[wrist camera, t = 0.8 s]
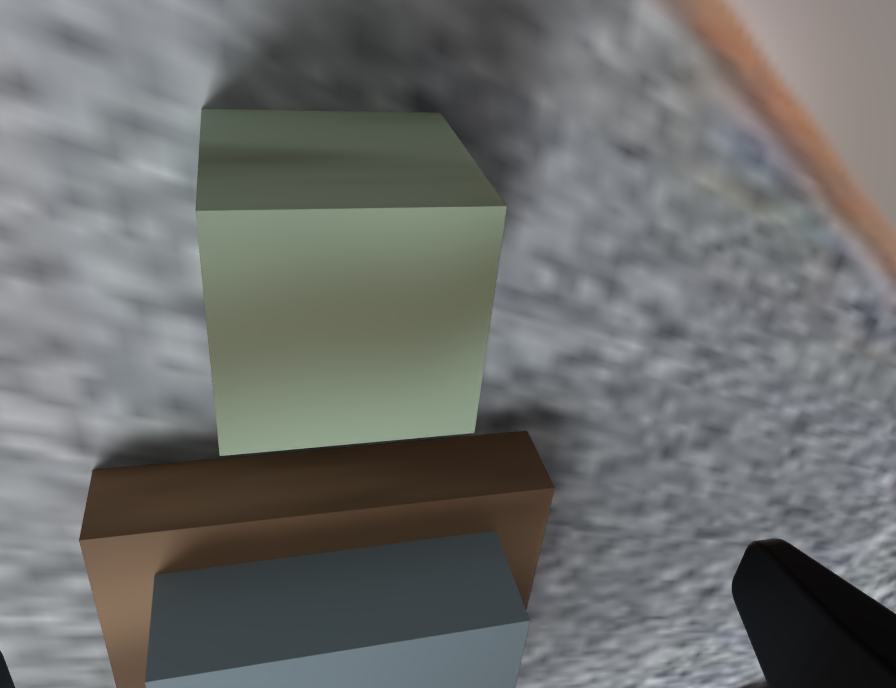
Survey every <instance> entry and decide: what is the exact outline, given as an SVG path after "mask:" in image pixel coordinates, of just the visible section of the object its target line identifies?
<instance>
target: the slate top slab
mask: <svg viewBox="0 0 896 688" xmlns="http://www.w3.org/2000/svg"><path fill="white" fill-rule="evenodd" d="M529 623H530V619H529V617H528V614H527V612H526V609H525V606H524V604H523V601H522V598H521V596H520V593H519V590H518V588H517V585H516V582H515V580H514V577H513V575H512V572H511V569H510V567H509V564H508V561H507V559H506V556H505V553H504V551H503V548H502V545H501V543H500V540H499V537H498V535H497V532H496V530H495V531H488V532H480V533H472V534H465V535H457V536H449V537H442V538H434V539H426V540H419V541H411V542H403V543H396V544H388V545H380V546H373V547H365V548H357V549H349V550H342V551H334V552H326V553H319V554H311V555H303V556H296V557H288V558H280V559H273V560H265V561H257V562H250V563H242V564H234V565H227V566H219V567H211V568H204V569H196V570H188V571H181V572H173V573H165V574H158V575H154V586H153V597H152V609H151V620H150V631H149V642H148V654H147V665H146V676H145V685H146V688H515V686H516V682H517V677H518V673H519V668H520V664H521V659H522V655H523V650H524V646H525V641H526V636H527V632H528V627H529Z"/></svg>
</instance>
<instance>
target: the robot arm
mask: <svg viewBox="0 0 896 688" xmlns="http://www.w3.org/2000/svg"><path fill="white" fill-rule="evenodd" d="M732 594H733V598H734V601H735V604H736V606H737V609H738V611H739V614H740V616H741V619H742V621H743V624H744V626H745V629H746V631H747V634H748V636H749V639H750V641H751V644H752V646H753V649H754V651H755V654H756V656H757V659H758V661H759V664H760V666H761V669H762V671H763V674H764V676H765V679H766V681H767V684H768V686H769V688H896V614H895V613H894V612H892V611H891V610H889V609H888V608H886V607H885V606H883V605H882V604H880V603H879V602H877V601H876V600H874V599H872V598H871V597H869V596H868V595H866V594H865V593H863V592H862V591H860V590H859V589H857V588H856V587H854V586H853V585H851V584H850V583H848V582H847V581H845V580H844V579H842V578H841V577H839V576H838V575H836V574H835V573H833V572H832V571H830V570H829V569H827V568H826V567H824V566H823V565H821V564H820V563H818V562H817V561H815V560H814V559H812V558H811V557H809V556H808V555H806V554H805V553H803V552H802V551H800V550H799V549H797V548H796V547H794V546H793V545H791V544H790V543H788V542H786V541H784V540H782V539H767V540H759V541H754V542H752V543H751V544H749V545H748V547H747V549H746V551H745V553H744V555H743V558H742V560H741V562H740V564H739V566H738V569H737V571H736V573H735V575H734V578H733V581H732ZM0 688H15V686H14V683H13V681H12V678H11V675H10V673H9V670H8V667H7V665H6V662H5V660H4V657H3V654H2V653H1V651H0Z"/></svg>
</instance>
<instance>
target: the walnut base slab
mask: <svg viewBox="0 0 896 688" xmlns="http://www.w3.org/2000/svg"><path fill="white" fill-rule="evenodd" d="M553 493H554V486H553V484H552V482H551V479H550V477H549V475H548V473H547V471H546V469H545V467H544V465H543V463H542V461H541V459H540V457H539V455H538V453H537V451H536V449H535V447H534V444H533V442H532V440H531V438H530V436H529V434H528V432H527V431H520V432H509V433H498V434H487V435H476V436H465V437H454V438H443V439H432V440H420V441H409V442H398V443H387V444H376V445H365V446H354V447H343V448H332V449H321V450H310V451H298V452H287V453H276V454H265V455H254V456H243V457H232V458H221V459H210V460H199V461H188V462H176V463H165V464H154V465H143V466H132V467H121V468H110V469H99V470H93V471H92V476H91V482H90V487H89V492H88V497H87V502H86V508H85V513H84V518H83V523H82V528H81V534H80V539H79V542H80V546H81V550H82V554H83V557H84V561H85V565H86V569H87V573H88V577H89V581H90V585H91V589H92V593H93V597H94V601H95V604H96V608H97V612H98V616H99V620H100V624H101V628H102V632H103V636H104V640H105V644H106V648H107V651H108V655H109V659H110V663H111V667H112V671H113V675H114V679H115V683H116V687H117V688H146V685H145V676H146V665H147V654H148V642H149V631H150V620H151V609H152V597H153V586H154V575H158V574H165V573H173V572H181V571H188V570H196V569H204V568H211V567H219V566H227V565H234V564H242V563H250V562H257V561H265V560H273V559H280V558H288V557H296V556H303V555H311V554H319V553H326V552H334V551H342V550H349V549H357V548H365V547H373V546H380V545H388V544H396V543H403V542H411V541H419V540H426V539H434V538H442V537H449V536H457V535H465V534H472V533H480V532H488V531H495V530H496V532H497V535H498V537H499V540H500V543H501V545H502V548H503V551H504V553H505V556H506V559H507V561H508V564H509V567H510V569H511V572H512V575H513V577H514V580H515V582H516V585H517V588H518V590H519V593H520V596H521V598H522V601H523V604H524V606H525V609H527V605H528V600H529V596H530V592H531V587H532V583H533V579H534V575H535V570H536V566H537V562H538V557H539V553H540V549H541V544H542V540H543V536H544V531H545V527H546V523H547V518H548V514H549V510H550V505H551V501H552V497H553Z"/></svg>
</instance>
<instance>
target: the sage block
mask: <svg viewBox="0 0 896 688" xmlns="http://www.w3.org/2000/svg"><path fill="white" fill-rule="evenodd" d="M506 210H507V205H506V204H505V203H504V201H503V200H502V198H501V197H500V196H499V194H498V193H497V191H496V190H495V189H494V187H493V186H492V184H491V183H490V182H489V180H488V179H487V177H486V176H485V174H484V173H483V172H482V170H481V169H480V167H479V166H478V165H477V163H476V162H475V160H474V159H473V158H472V156H471V155H470V153H469V152H468V151H467V149H466V148H465V146H464V145H463V144H462V142H461V141H460V139H459V138H458V137H457V135H456V134H455V132H454V131H453V130H452V128H451V127H450V125H449V124H448V123H447V121H446V120H445V118H444V117H443V115H442V114H441V113H430V112H369V111H309V110H248V109H202V111H201V127H200V144H199V161H198V178H197V194H196V221H197V231H198V241H199V251H200V262H201V272H202V282H203V292H204V302H205V312H206V322H207V333H208V343H209V353H210V363H211V373H212V383H213V393H214V403H215V414H216V424H217V434H218V444H219V454H220V456H226V455H237V454H248V453H259V452H270V451H281V450H292V449H303V448H314V447H325V446H336V445H347V444H358V443H369V442H380V441H391V440H402V439H413V438H424V437H436V436H447V435H458V434H469V433H474V432H475V425H476V418H477V411H478V405H479V398H480V391H481V384H482V377H483V370H484V363H485V356H486V349H487V342H488V335H489V328H490V321H491V314H492V307H493V300H494V293H495V286H496V279H497V273H498V266H499V259H500V252H501V245H502V238H503V231H504V224H505V217H506Z"/></svg>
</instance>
